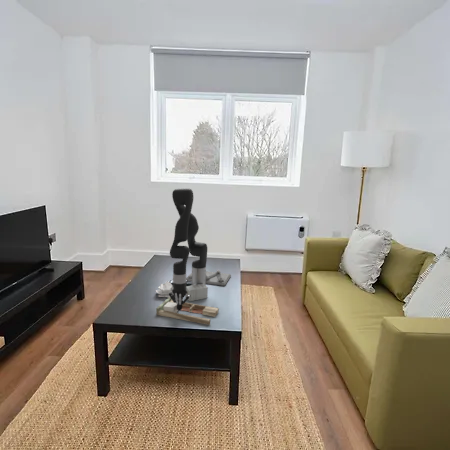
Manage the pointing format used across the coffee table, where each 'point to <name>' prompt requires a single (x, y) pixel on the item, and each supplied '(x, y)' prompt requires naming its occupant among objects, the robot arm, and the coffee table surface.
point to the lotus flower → (165, 289)
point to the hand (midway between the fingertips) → (179, 309)
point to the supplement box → (197, 291)
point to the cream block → (171, 307)
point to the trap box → (189, 308)
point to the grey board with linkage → (214, 278)
